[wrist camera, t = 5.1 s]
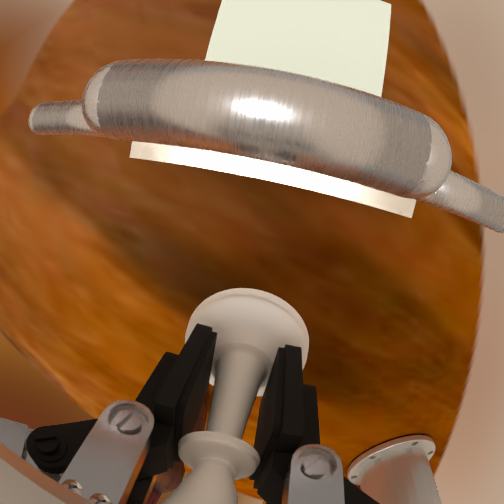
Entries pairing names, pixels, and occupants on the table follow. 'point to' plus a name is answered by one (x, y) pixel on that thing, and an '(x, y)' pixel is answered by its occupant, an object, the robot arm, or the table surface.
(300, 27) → the pad
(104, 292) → the table surface
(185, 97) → the silver metal frame stand
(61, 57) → the table surface
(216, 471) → the chess piece
